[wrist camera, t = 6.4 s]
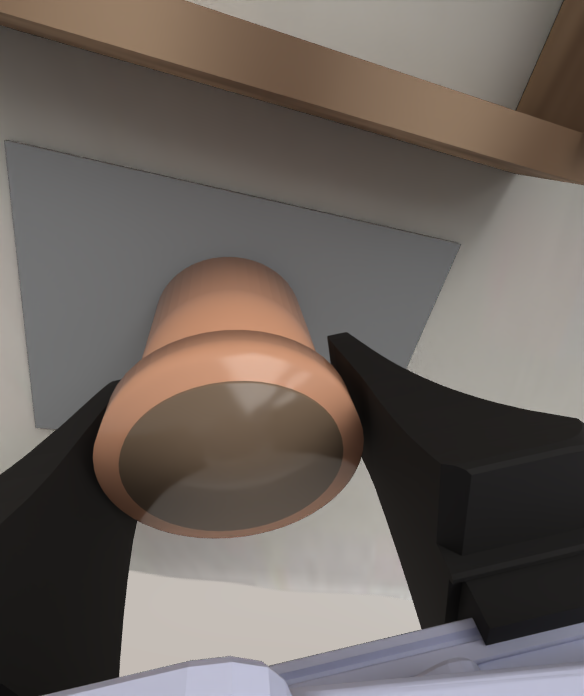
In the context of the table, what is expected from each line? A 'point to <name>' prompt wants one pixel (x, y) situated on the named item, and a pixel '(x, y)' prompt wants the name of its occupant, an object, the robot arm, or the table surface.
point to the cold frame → (338, 78)
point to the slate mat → (181, 252)
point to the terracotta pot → (227, 411)
